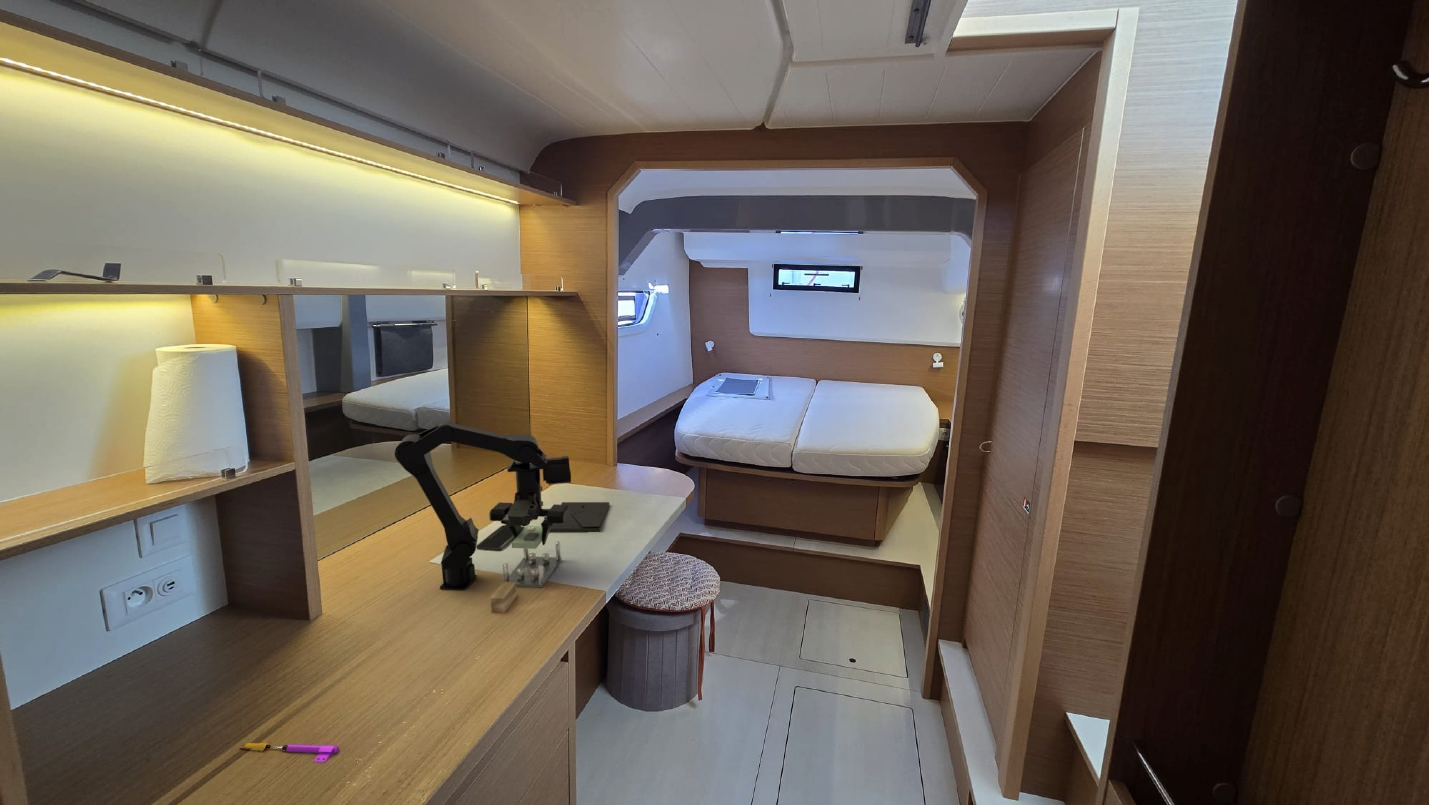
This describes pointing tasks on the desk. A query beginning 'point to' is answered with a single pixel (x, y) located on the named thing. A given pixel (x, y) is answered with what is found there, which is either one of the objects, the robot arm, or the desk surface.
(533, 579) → the chassis
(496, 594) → the block
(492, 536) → the phone
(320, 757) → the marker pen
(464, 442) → the robot arm
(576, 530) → the picture frame
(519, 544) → the board
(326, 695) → the desk surface
